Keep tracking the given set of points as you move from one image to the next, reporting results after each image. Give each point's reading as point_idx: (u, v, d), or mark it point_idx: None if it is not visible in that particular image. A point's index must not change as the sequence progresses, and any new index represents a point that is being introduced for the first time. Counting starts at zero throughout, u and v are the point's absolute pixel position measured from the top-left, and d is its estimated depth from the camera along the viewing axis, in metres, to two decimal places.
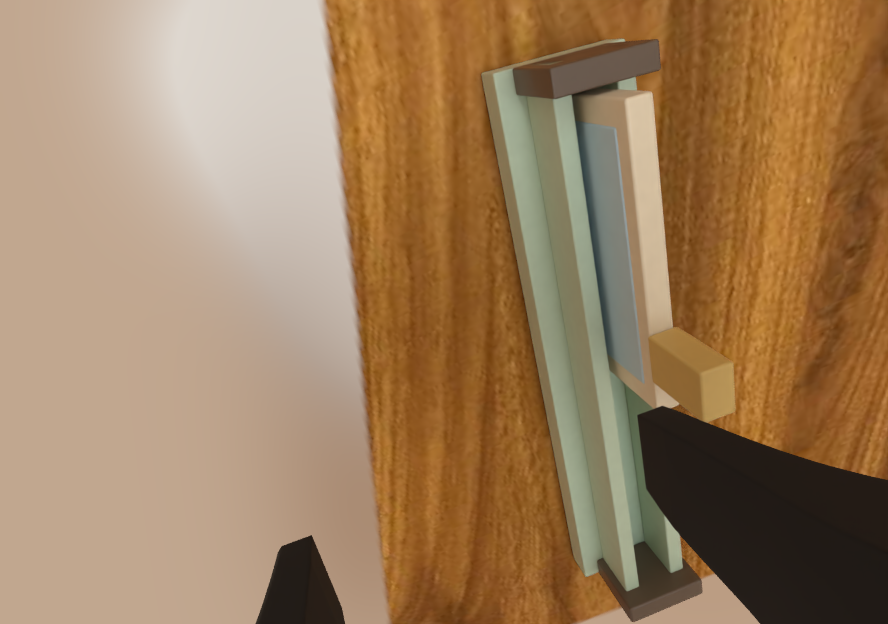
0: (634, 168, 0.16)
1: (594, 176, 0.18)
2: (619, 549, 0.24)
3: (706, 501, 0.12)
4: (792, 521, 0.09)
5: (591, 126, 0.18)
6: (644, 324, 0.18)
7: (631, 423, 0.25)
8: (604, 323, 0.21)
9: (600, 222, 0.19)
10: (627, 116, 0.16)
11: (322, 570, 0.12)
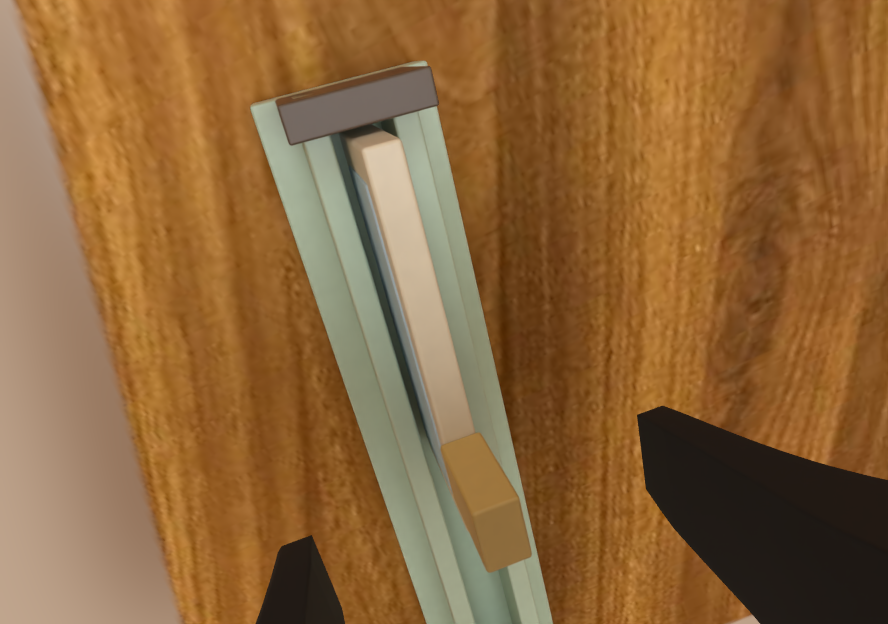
0: (388, 239, 0.12)
1: (373, 239, 0.14)
2: None
3: (706, 501, 0.12)
4: (792, 521, 0.09)
5: (358, 177, 0.14)
6: None
7: None
8: (421, 411, 0.17)
9: (389, 295, 0.15)
10: (370, 171, 0.12)
11: (322, 570, 0.12)
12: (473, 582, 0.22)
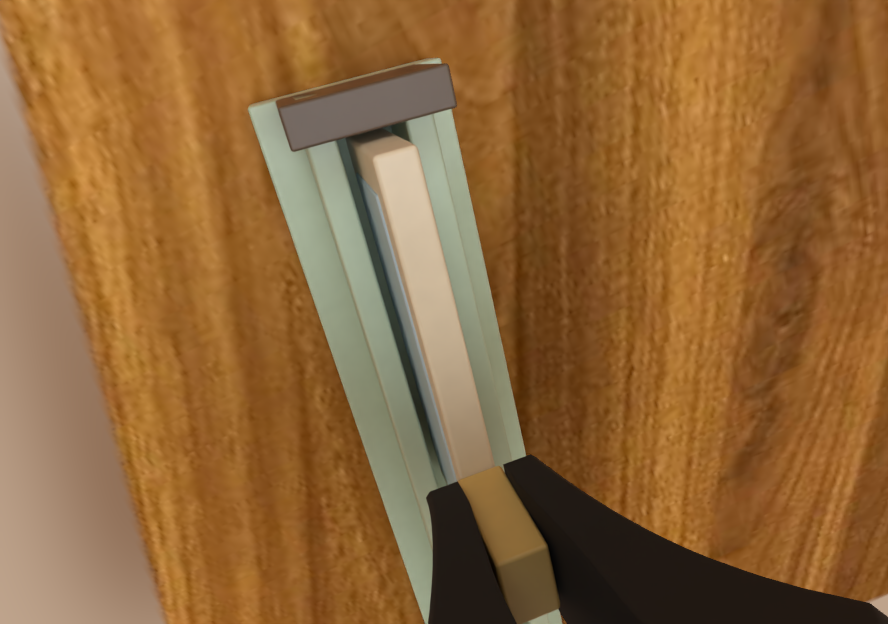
0: (402, 256, 0.11)
1: (383, 253, 0.13)
2: None
3: (556, 561, 0.11)
4: (609, 597, 0.09)
5: (367, 186, 0.12)
6: None
7: None
8: (432, 436, 0.16)
9: (400, 314, 0.14)
10: (381, 182, 0.11)
11: None
12: None
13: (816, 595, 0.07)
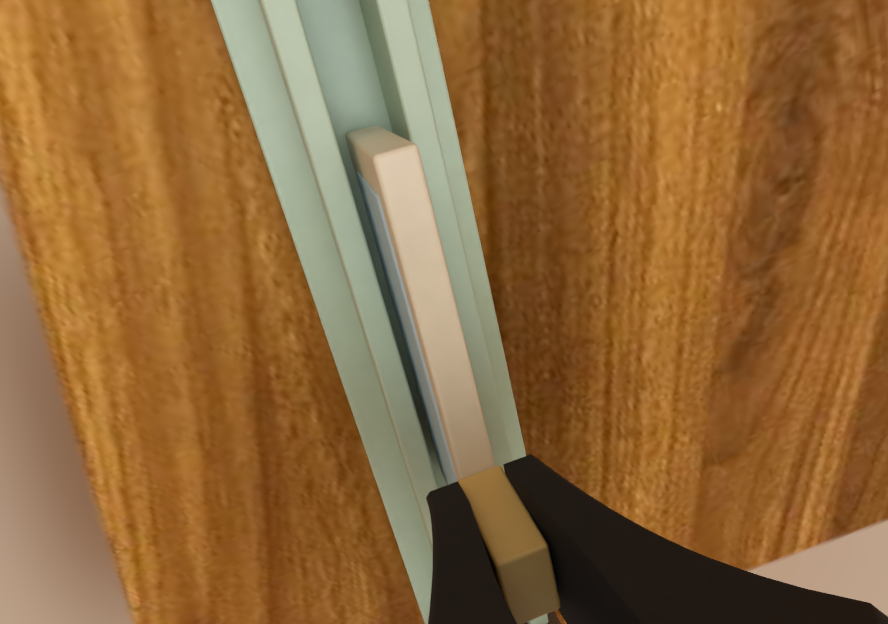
0: (402, 256, 0.11)
1: (383, 253, 0.13)
2: None
3: (556, 561, 0.11)
4: (608, 597, 0.09)
5: (367, 186, 0.12)
6: None
7: None
8: (433, 436, 0.16)
9: (400, 314, 0.14)
10: (382, 181, 0.11)
11: None
12: None
13: (816, 595, 0.07)
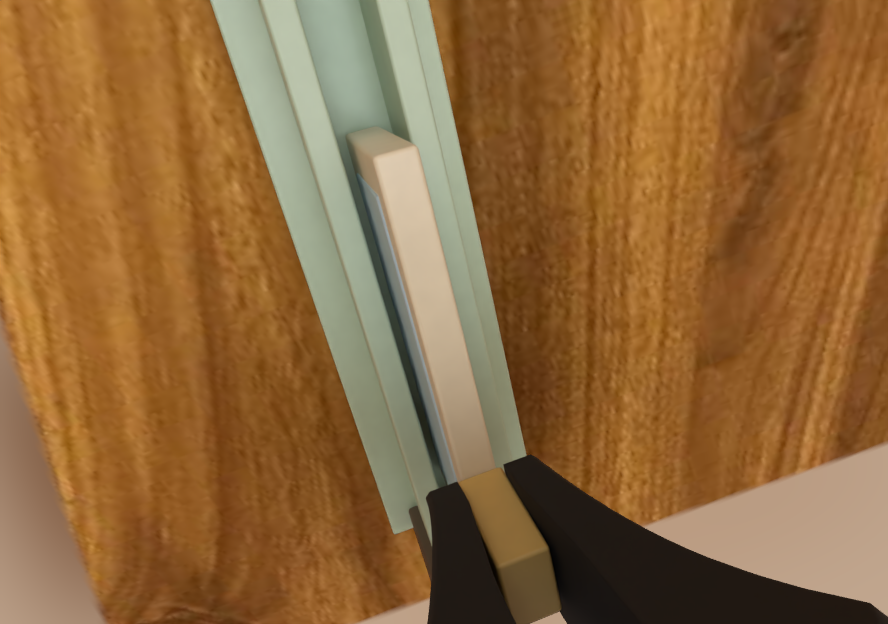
0: (402, 257, 0.11)
1: (383, 254, 0.13)
2: (411, 483, 0.16)
3: (556, 561, 0.11)
4: (609, 597, 0.09)
5: (368, 187, 0.12)
6: (455, 462, 0.13)
7: None
8: (433, 438, 0.16)
9: (401, 315, 0.14)
10: (382, 182, 0.10)
11: None
12: None
13: (816, 595, 0.07)
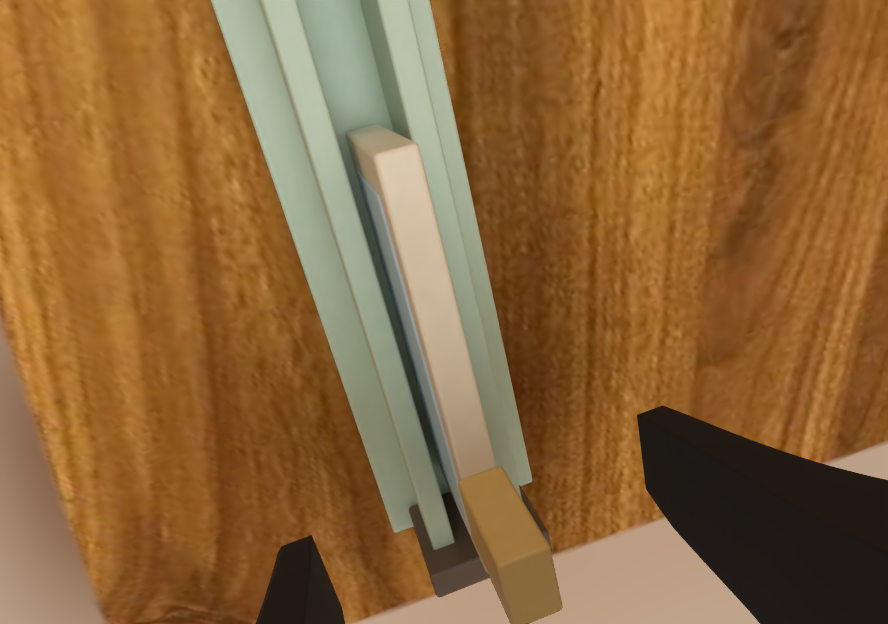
0: (402, 255, 0.11)
1: (383, 252, 0.13)
2: (412, 482, 0.16)
3: (706, 501, 0.12)
4: (792, 521, 0.09)
5: (368, 185, 0.12)
6: None
7: None
8: (433, 437, 0.16)
9: (401, 313, 0.14)
10: (382, 180, 0.10)
11: (322, 570, 0.12)
12: None
13: None
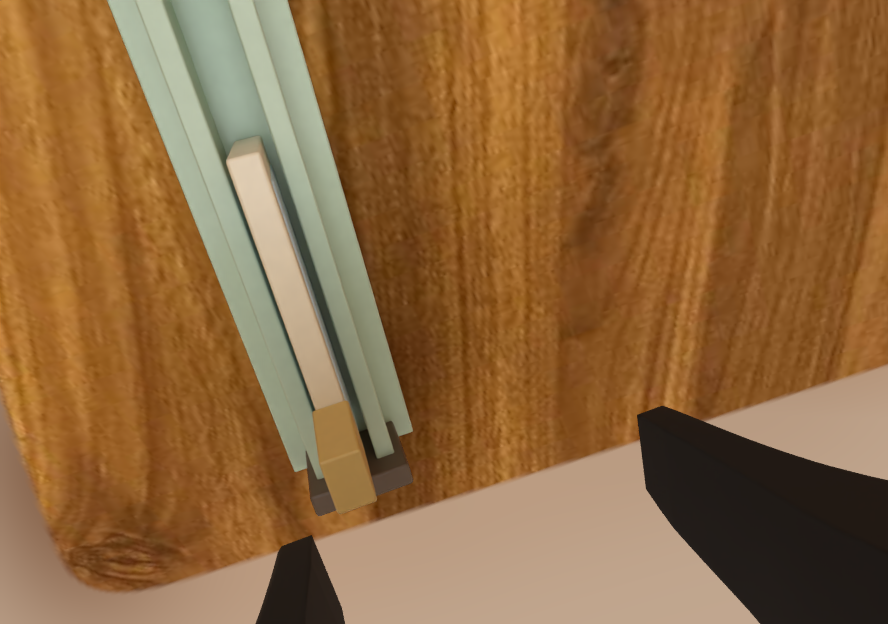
0: (253, 234, 0.15)
1: None
2: (295, 421, 0.19)
3: (706, 501, 0.12)
4: (792, 521, 0.09)
5: None
6: None
7: None
8: None
9: None
10: (234, 178, 0.14)
11: (322, 570, 0.12)
12: None
13: None
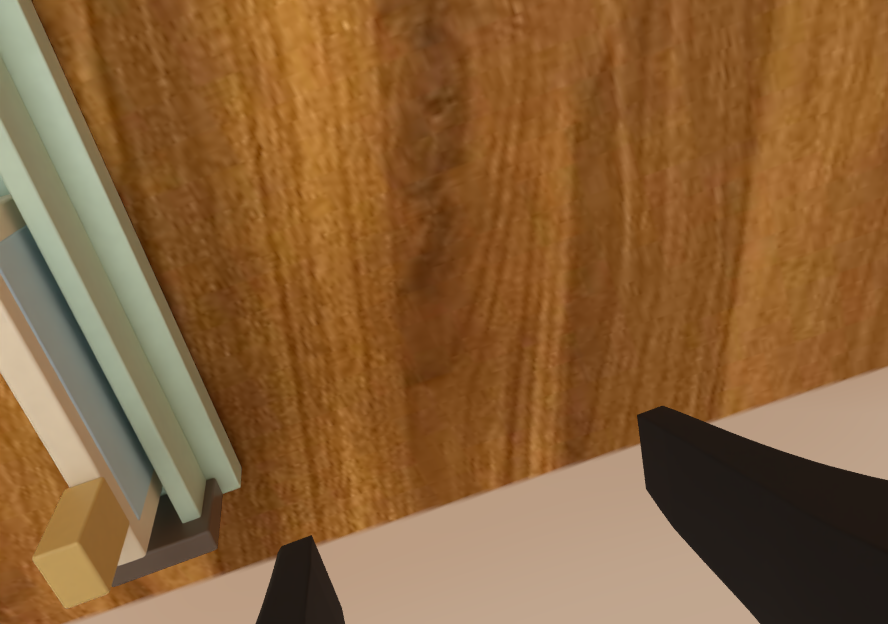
0: None
1: None
2: None
3: (706, 501, 0.12)
4: (792, 521, 0.09)
5: None
6: None
7: None
8: None
9: None
10: None
11: (322, 570, 0.12)
12: None
13: None
